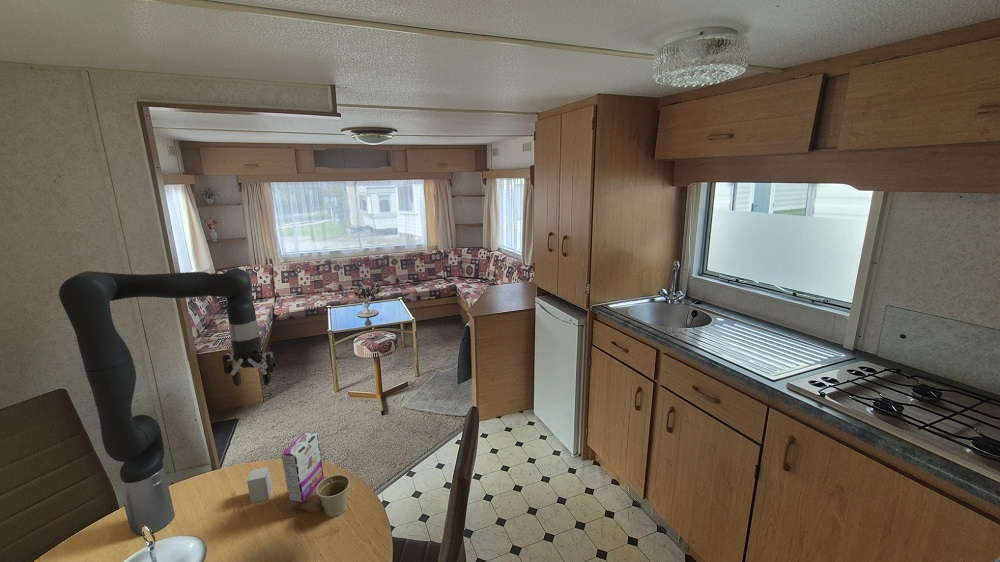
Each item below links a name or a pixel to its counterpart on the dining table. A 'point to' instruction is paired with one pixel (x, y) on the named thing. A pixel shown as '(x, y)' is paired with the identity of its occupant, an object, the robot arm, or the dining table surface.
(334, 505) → the flower pot
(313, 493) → the brown square block
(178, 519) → the dining table surface
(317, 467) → the candy bar box
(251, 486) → the grey block
